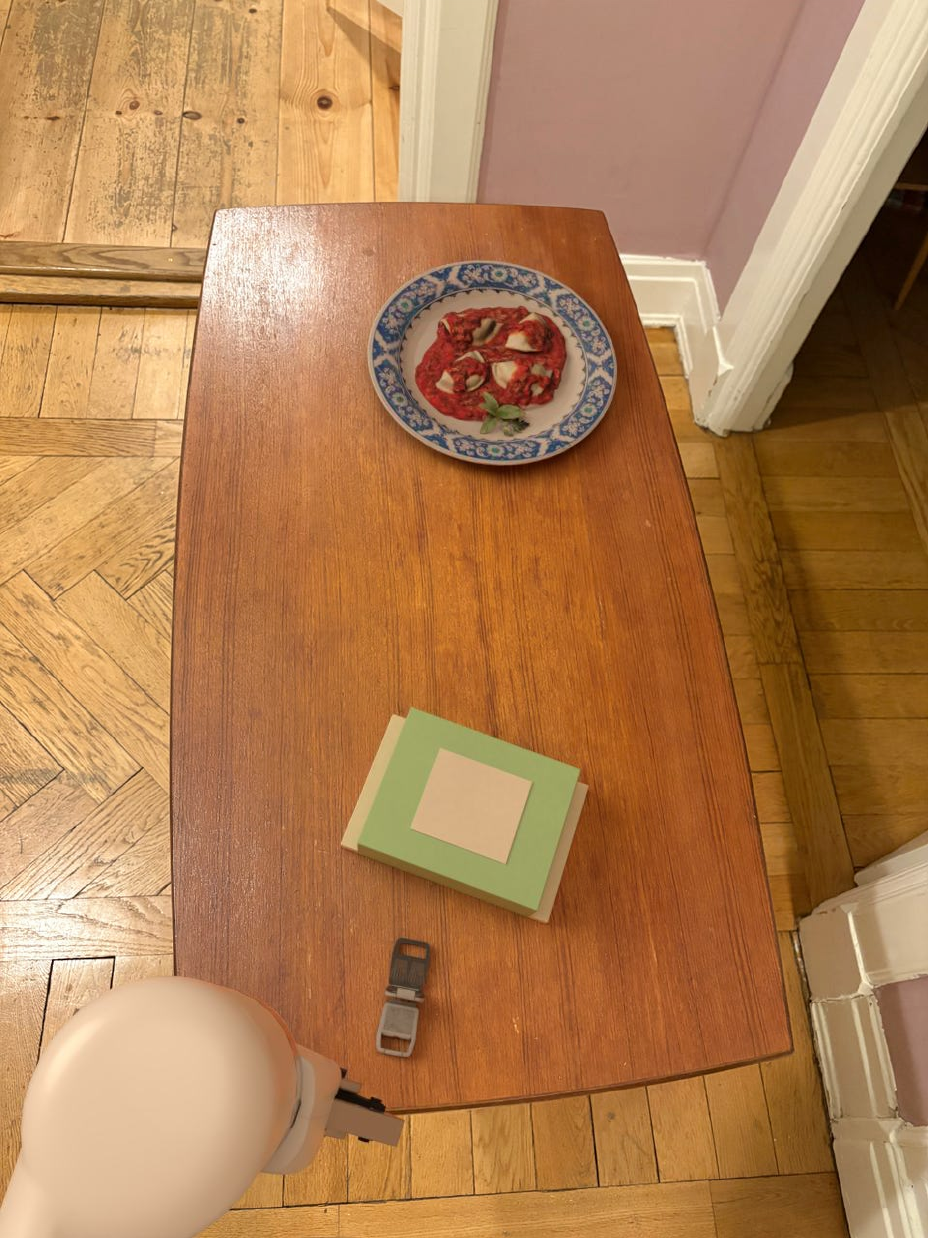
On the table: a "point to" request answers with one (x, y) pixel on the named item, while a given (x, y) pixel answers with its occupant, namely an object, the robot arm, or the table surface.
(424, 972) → the strap clip
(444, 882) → the green block with label
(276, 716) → the table surface
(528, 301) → the ceramic plate
